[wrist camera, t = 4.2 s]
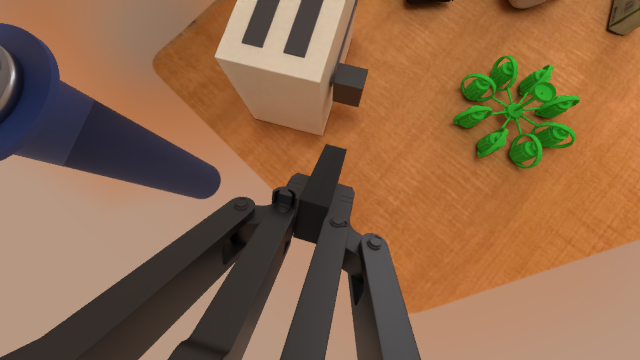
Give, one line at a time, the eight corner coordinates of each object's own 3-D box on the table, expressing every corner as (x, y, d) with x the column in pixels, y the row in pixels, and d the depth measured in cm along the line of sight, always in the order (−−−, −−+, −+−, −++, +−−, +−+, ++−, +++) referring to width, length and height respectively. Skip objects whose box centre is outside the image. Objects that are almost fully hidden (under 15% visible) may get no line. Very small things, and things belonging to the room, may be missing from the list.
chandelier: (523, 195, 33) (575, 185, 26) (425, 127, 35) (449, 102, 28) (580, 109, 35) (642, 79, 28) (484, 50, 37) (519, 9, 30)
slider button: (332, 101, 31) (333, 82, 27) (337, 83, 31) (339, 62, 27) (358, 107, 30) (362, 89, 26) (363, 89, 31) (368, 69, 27)
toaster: (254, 118, 36) (213, 55, 23) (288, 23, 39) (268, -80, 26) (324, 136, 35) (322, 82, 22) (353, 38, 38) (366, -61, 25)
